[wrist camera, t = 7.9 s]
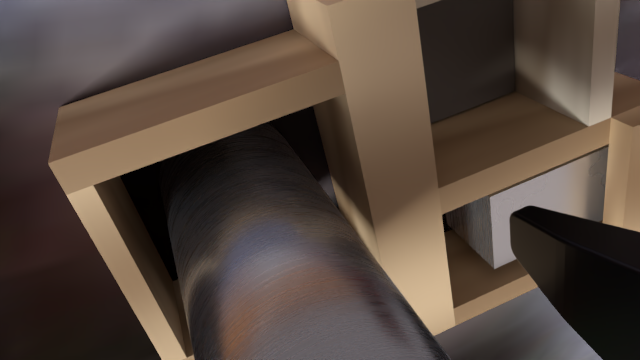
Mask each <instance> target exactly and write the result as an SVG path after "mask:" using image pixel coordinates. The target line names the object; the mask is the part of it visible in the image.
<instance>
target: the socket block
mask: <svg viewBox="0 0 640 360" xmlns="http://www.w3.org/2000/svg"><path fill="white" fill-rule="evenodd" d="M287 4H288V8H289V12H290V16H291V20H292V24H293V28H294V29H293V30H290V31H287V32H284V33H281V34H278V35H275V36H272V37H269V38H266V39H263V40H260V41H257V42H254V43H251V44H248V45H245V46H242V47H239V48H236V49H233V50H230V51H227V52H224V53H221V54H218V55H215V56H212V57H209V58H206V59H203V60H200V61H197V62H194V63H191V64H188V65H185V66H182V67H179V68H176V69H173V70H170V71H167V72H164V73H161V74H158V75H155V76H152V77H149V78H146V79H143V80H140V81H137V82H134V83H131V84H128V85H125V86H122V87H119V88H116V89H113V90H110V91H107V92H104V93H101V94H98V95H95V96H92V97H89V98H86V99H83V100H80V101H77V102H74V103H71V104H68V105H65V106H62V107H59V111H58V116H57V121H56V126H55V131H54V136H53V141H52V146H51V151H50V156H49V161H48V164H49V166H50V168H51V169H52V171H53V173H54V175H55V176H56V178H57V180H58V181H59V183H60V185H61V187H62V188H63V190H64V192H65V194H66V195H67V197H68V199H69V200H70V202H71V204H72V206H73V207H74V209H75V211H76V212H77V214H78V216H79V218H80V219H81V221H82V223H83V224H84V226H85V228H86V230H87V231H88V233H89V235H90V237H91V238H92V240H93V242H94V243H95V245H96V247H97V249H98V250H99V252H100V254H101V255H102V257H103V259H104V261H105V262H106V264H107V266H108V267H109V269H110V271H111V273H112V274H113V276H114V278H115V279H116V281H117V283H118V285H119V286H120V288H121V290H122V292H123V293H124V295H125V297H126V298H127V300H128V302H129V304H130V305H131V307H132V309H133V310H134V312H135V314H136V316H137V317H138V319H139V321H140V322H141V324H142V326H143V328H144V329H145V331H146V333H147V335H148V336H149V338H150V340H151V341H152V343H153V345H154V347H155V348H156V350H157V352H158V353H159V355H160V357H161V359H162V360H195V359H194V354H193V349H192V344H191V339H190V334H189V329H188V324H187V319H186V314H185V309H184V305H183V300H182V295H181V290H180V285H179V280H178V279H177V280H175V281H172V279H171V277H170V275H169V273H168V271H167V269H166V267H165V265H164V263H163V261H162V259H161V257H160V255H159V253H158V251H157V249H156V247H155V245H154V243H153V241H152V239H151V237H150V235H149V233H148V231H147V229H146V227H145V225H144V223H143V221H142V219H141V217H140V215H139V213H138V211H137V209H136V207H135V205H134V203H133V201H132V199H131V197H130V195H129V193H128V191H127V189H126V187H125V185H124V184H123V182H122V180H121V178H120V175H123V174H125V173H128V172H131V171H134V170H136V169H139V168H142V167H145V166H147V165H150V164H153V163H156V162H158V161H161V160H164V159H167V158H169V157H172V156H175V155H178V154H180V153H183V152H186V151H189V150H191V149H194V148H197V147H200V146H202V145H205V144H208V143H211V142H213V141H216V140H219V139H222V138H224V137H227V136H230V135H233V134H235V133H238V132H241V131H244V130H246V129H249V128H252V127H255V126H257V125H260V124H263V123H266V122H268V121H271V120H274V119H277V118H279V117H282V116H285V115H288V114H290V113H293V112H296V111H299V110H301V109H304V108H307V107H310V106H312V105H313V108H314V112H315V116H316V120H317V124H318V128H319V132H320V136H321V140H322V144H323V148H324V151H325V155H326V159H327V163H328V167H329V171H330V175H331V179H332V183H333V187H334V191H335V195H336V199H337V203H338V207H339V211H340V212H341V214H342V215H343V216H344V218H345V219H346V220H347V222H348V223H349V224H350V226H351V227H352V228H353V230H354V231H355V232H356V234H357V235H358V236H359V238H360V239H361V240H362V242H363V243H364V244H365V246H366V247H367V248H368V250H369V251H370V252H371V254H372V255H373V256H374V258H375V259H376V260H377V262H378V263H379V264H380V266H381V267H382V268H383V270H384V271H385V272H386V273H387V275H388V276H389V277H390V279H391V280H392V281H393V283H394V284H395V285H396V287H397V288H398V289H399V291H400V292H401V293H402V295H403V296H404V297H405V299H406V300H407V301H408V303H409V304H410V305H411V307H412V308H413V309H414V311H415V312H416V313H417V315H418V316H419V317H420V319H421V320H422V321H423V323H424V324H425V325H426V327H427V328H428V329H429V331H430V332H431V333H432V335H433V336H434V335H437V334H439V333H441V332H443V331H445V330H447V329H449V328H451V327H454V326H456V325H458V324H460V323H462V322H464V321H466V320H469V319H471V318H473V317H475V316H477V315H479V314H481V313H483V312H486V311H488V310H490V309H492V308H494V307H496V306H498V305H501V304H503V303H505V302H507V301H509V300H511V299H513V298H515V297H518V296H520V295H522V294H524V293H526V292H528V291H530V290H532V289H535V288H537V287H538V286H537V284H536V283H535V282H534V280H533V279H532V278H531V277H530V275H529V274H528V273H527V271H526V270H525V269H524V268H523V266H522V265H521V264H520V262H519V261H518V260H517V259H516V260H513V261H511V262H509V263H507V264H505V265H502V266H500V267H498V268H496V269H494V268H493V267H492V266H491V265H490V264H489V263H488V262H486V261H485V260H484V259H483V258H482V257H481V256H480V255H479V254H478V253H477V252H476V251H475V250H474V249H473V248H472V247H471V246H470V245H469V244H468V243H467V242H466V241H465V240H464V239H463V238H461V237H460V236H459V235H458V234H457V233H456V232H455V231H454V230H453V229H452V230H450V231H447V232H445V233H444V228H443V220H442V214H445V213H447V212H449V211H452V210H454V209H456V208H459V207H461V206H463V205H466V204H468V203H470V202H473V201H475V200H478V199H480V198H482V197H485V196H487V195H489V194H492V193H494V192H496V191H499V190H501V189H504V188H506V187H508V186H511V185H513V184H515V183H518V182H520V181H522V180H525V179H527V178H529V177H532V176H534V175H537V174H539V173H541V172H544V171H546V170H548V169H551V168H553V167H555V166H558V165H560V164H563V163H565V162H567V161H570V160H572V159H574V158H577V157H579V156H581V155H584V154H586V153H588V152H591V151H593V150H596V149H598V148H600V147H603V146H605V145H607V144H609V148H608V161H607V173H606V186H605V199H604V211H603V220H601V221H599V222H601V223H605V224H609V225H613V226H617V227H621V228H625V229H629V230H633V231H638V232H640V81H639V80H637V79H634V78H631V77H628V76H625V75H622V74H619V73H617V72H615V73H614V85H613V98H612V111H611V118H608V119H606V120H604V121H601V122H599V123H596V124H594V125H591V126H589V127H588V126H586V125H584V124H582V123H580V122H578V121H576V120H574V119H572V118H570V117H568V116H565V115H563V114H561V113H559V112H557V111H555V110H553V109H551V108H549V107H547V106H545V105H543V104H540V103H538V102H536V101H534V100H532V99H530V98H528V97H526V96H524V95H522V94H520V93H518V92H516V91H514V92H511V93H509V94H506V95H504V96H501V97H498V98H496V99H493V100H491V101H488V102H485V103H483V104H480V105H478V106H475V107H473V108H470V109H467V110H465V111H462V112H460V113H457V114H454V115H452V116H449V117H447V118H444V119H442V120H439V121H436V122H434V123H430V115H429V107H428V99H427V91H426V83H425V74H424V66H423V58H422V50H421V42H420V34H419V26H418V18H417V10H416V2H415V0H287Z"/></svg>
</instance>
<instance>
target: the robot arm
mask: <svg viewBox="0 0 640 360" xmlns="http://www.w3.org/2000/svg"><path fill="white" fill-rule="evenodd" d="M509 223H510V245H511V249H512V252H513V254H514V256H515V257H516V259H517V260H518V261H519V262H520V264H521V265H522V266H523V268H524V269H525V270H526V271H527V273H528V274H529V275H530V277H531V278H532V279H533V280H534V282H535V283H536V284H537V286H538V287H539V288H540V289H541V291H542V292H543V293H544V295H545V296H546V297H547V298H548V300H549V301H550V302H551V304H552V305H553V306H554V307H555V309H556V310H557V311H558V312H559V313H560V315H561V316H562V317H563V318H564V319H565V320H566V321H567V323H568V324H569V325H570V326H571V327H572V328H573V329H574V330H575V331H576V332H577V333H578V334H579V335H580V336H581V337H582V338H583V339H584V340H585V341H586V342H587V344H588V345H589V346H590V347H591V348H592V349H593V350H594V351H595V352H596V353H597V354H598V355H599V356H600V357H601V358H602V359H603V360H640V232H638V231H633V230H629V229H625V228H621V227H617V226H613V225H609V224H605V223H601V222H597V221H593V220H589V219H585V218H581V217H577V216H573V215H569V214H565V213H561V212H557V211H553V210H549V209H545V208H541V207H537V206H532V205H529V206H526V207H523V208H521V209H519V210H516V211H514V212H513V213H511V215H510V219H509Z"/></svg>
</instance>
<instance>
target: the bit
mask: <svg viewBox="0 0 640 360" xmlns="http://www.w3.org/2000/svg"><path fill="white" fill-rule="evenodd" d="M159 186H160V191H161V196H162V201H163V206H164V211H165V216H166V221H167V226H168V231H169V236H170V241H171V245H172V250H173V255H174V260H175V265H176V270H177V275H178V280H179V285H180V290H181V295H182V300H183V305H184V309H185V314H186V319H187V324H188V329H189V334H190V339H191V344H192V349H193V354H194V359H195V360H451V358H450V357H449V356H448V355H447V353H446V352H445V351H444V349H443V348H442V347H441V345H440V344H439V343H438V341H437V340H436V339H435V337H434V336H433V335H432V333H431V332H430V331H429V329H428V328H427V327H426V325H425V324H424V323H423V321H422V320H421V319H420V317H419V316H418V315H417V313H416V312H415V311H414V309H413V308H412V307H411V305H410V304H409V303H408V301H407V300H406V299H405V297H404V296H403V295H402V293H401V292H400V291H399V289H398V288H397V287H396V285H395V284H394V283H393V281H392V280H391V279H390V277H389V276H388V275H387V273H386V272H385V271H384V270H383V268H382V267H381V266H380V264H379V263H378V262H377V260H376V259H375V258H374V256H373V255H372V254H371V252H370V251H369V250H368V248H367V247H366V246H365V244H364V243H363V242H362V240H361V239H360V238H359V236H358V235H357V234H356V232H355V231H354V230H353V228H352V227H351V226H350V224H349V223H348V222H347V220H346V219H345V218H344V216H343V215H342V214H341V212H340V211H339V210H338V208H337V207H336V206H335V204H334V203H333V202H332V200H331V199H330V198H329V196H328V195H327V194H326V192H325V191H324V190H323V188H322V187H321V186H320V184H319V183H318V182H317V181H316V179H315V178H314V177H313V175H312V174H311V173H310V171H309V170H308V169H307V167H306V166H305V165H304V163H303V162H302V161H301V159H300V158H299V157H298V155H297V154H296V153H295V151H294V150H293V149H292V147H291V146H290V145H289V143H288V142H287V141H286V139H285V138H284V137H283V135H282V134H281V133H280V132H279V131H278V130H277V129H276V128H275V127H274V126H272V125H271V124H270V123H268V122H266V123H263V124H260V125H257V126H255V127H252V128H249V129H246V130H244V131H241V132H238V133H235V134H233V135H230V136H227V137H224V138H222V139H219V140H216V141H213V142H211V143H208V144H205V145H202V146H200V147H197V148H194V149H191V150H189V151H186V152H183V153H180V154H178V155H175V156H172V157H169V158H167V159H164V160H162V163H161V167H160V173H159Z"/></svg>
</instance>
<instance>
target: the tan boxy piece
mask: <svg viewBox="0 0 640 360" xmlns="http://www.w3.org/2000/svg"><path fill="white" fill-rule="evenodd" d="M415 2H416V10H417V18H418V26H419V34H420V42H421V50H422V58H423V66H424V74H425V83H426V91H427V99H428V107H429V115H430V123H434V122H436V121H439V120H442V119H444V118H447V117H449V116H452V115H454V114H457V113H460V112H462V111H465V110H467V109H470V108H473V107H475V106H478V105H480V104H483V103H485V102H488V101H491V100H493V99H496V98H498V97H501V96H504V95H506V94H509V93H511V92H514V91H516V92H518V93H520V94H522V95H524V96H526V97H528V98H530V99H532V100H534V101H536V102H538V103H540V104H543V105H545V106H547V107H549V108H551V109H553V110H555V111H557V112H559V113H561V114H563V115H565V116H568V117H570V118H572V119H574V120H576V121H578V122H580V123H582V124H584V125H586V126H588V127H589V126H591V125H594V124H596V123H599V122H601V121H604V120H606V119H608V118H611V111H612V98H613V85H614V73H615V60H616V48H617V35H618V23H619V10H620V0H415Z"/></svg>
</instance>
